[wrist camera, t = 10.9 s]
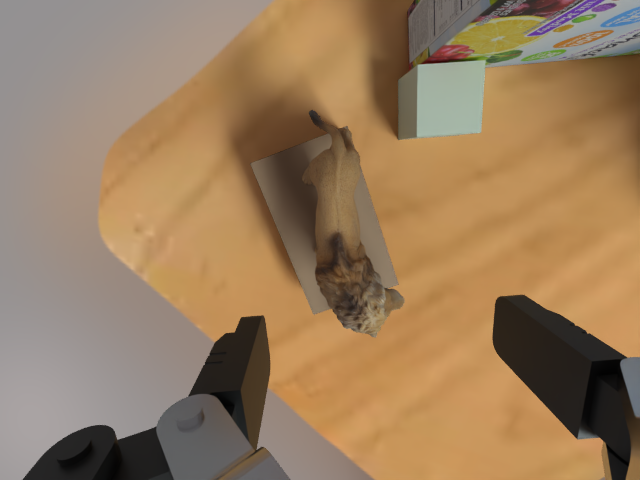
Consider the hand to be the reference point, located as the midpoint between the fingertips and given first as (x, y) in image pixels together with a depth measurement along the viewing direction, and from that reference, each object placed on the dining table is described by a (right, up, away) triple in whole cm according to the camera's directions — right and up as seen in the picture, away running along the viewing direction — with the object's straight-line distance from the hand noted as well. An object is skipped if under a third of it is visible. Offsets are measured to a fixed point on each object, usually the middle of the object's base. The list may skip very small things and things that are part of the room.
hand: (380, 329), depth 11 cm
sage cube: (+7, +15, +17) cm, 24 cm away
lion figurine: (-1, +5, +15) cm, 16 cm away
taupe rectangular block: (-2, +5, +20) cm, 21 cm away
